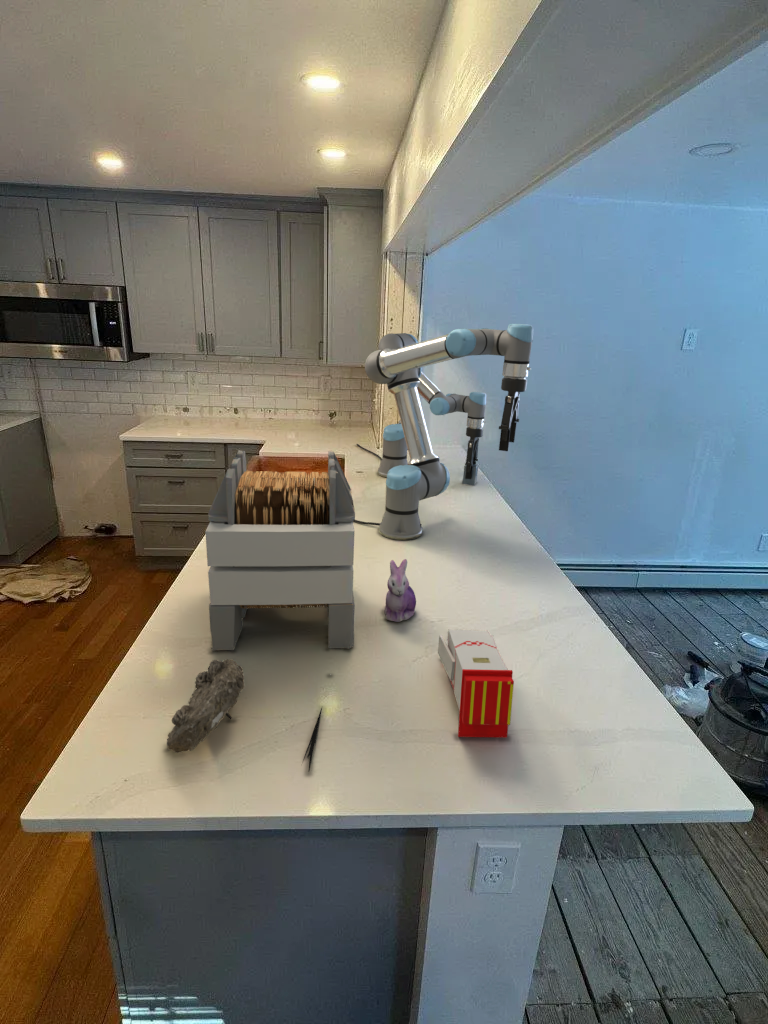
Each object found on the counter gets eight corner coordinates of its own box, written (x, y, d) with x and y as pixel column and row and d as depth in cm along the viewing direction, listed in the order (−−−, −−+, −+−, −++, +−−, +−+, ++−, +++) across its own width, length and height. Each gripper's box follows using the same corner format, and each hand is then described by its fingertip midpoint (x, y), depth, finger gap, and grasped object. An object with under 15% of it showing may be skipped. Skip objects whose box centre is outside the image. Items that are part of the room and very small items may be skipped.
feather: (331, 679, 122) (336, 673, 122) (307, 777, 96) (313, 769, 95) (324, 675, 122) (329, 669, 121) (298, 772, 95) (304, 764, 95)
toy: (488, 613, 130) (523, 677, 101) (484, 667, 133) (517, 744, 104) (435, 612, 130) (455, 676, 101) (432, 666, 133) (451, 743, 103)
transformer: (231, 583, 159) (223, 441, 145) (347, 582, 163) (350, 443, 149) (209, 653, 127) (196, 479, 114) (354, 649, 131) (359, 481, 117)
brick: (474, 485, 260) (476, 467, 257) (462, 483, 261) (464, 465, 259) (476, 482, 264) (478, 464, 261) (465, 480, 266) (466, 463, 263)
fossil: (192, 660, 117) (244, 628, 112) (224, 691, 120) (276, 661, 115) (142, 746, 98) (202, 712, 93) (182, 779, 101) (242, 748, 96)
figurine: (392, 627, 141) (395, 572, 136) (374, 608, 149) (376, 556, 144) (425, 619, 145) (429, 566, 140) (405, 601, 154) (408, 550, 149)
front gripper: (522, 382, 160) (513, 456, 167) (532, 374, 182) (523, 439, 189) (495, 380, 162) (487, 453, 169) (508, 373, 184) (501, 437, 191)
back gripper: (478, 432, 244) (473, 483, 252) (487, 424, 262) (482, 472, 269) (461, 430, 246) (457, 481, 254) (471, 422, 264) (466, 470, 272)
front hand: (506, 446), depth 179 cm, fingers open, 13 cm apart
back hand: (470, 476), depth 262 cm, fingers open, 7 cm apart
